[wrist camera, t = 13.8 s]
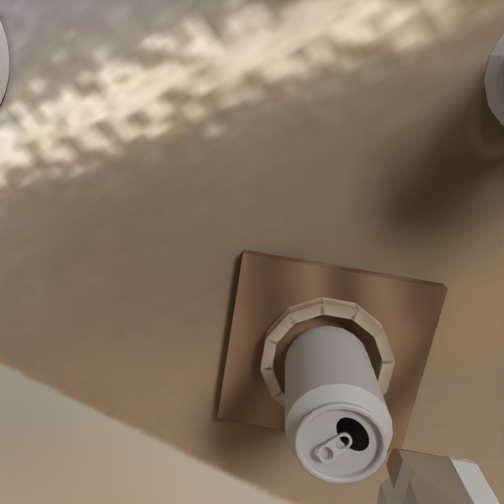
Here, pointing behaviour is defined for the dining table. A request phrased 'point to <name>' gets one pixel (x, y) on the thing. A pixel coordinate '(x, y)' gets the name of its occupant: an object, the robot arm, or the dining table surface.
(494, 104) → the french press
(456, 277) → the dining table surface
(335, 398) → the can
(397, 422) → the seat board
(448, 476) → the robot arm
